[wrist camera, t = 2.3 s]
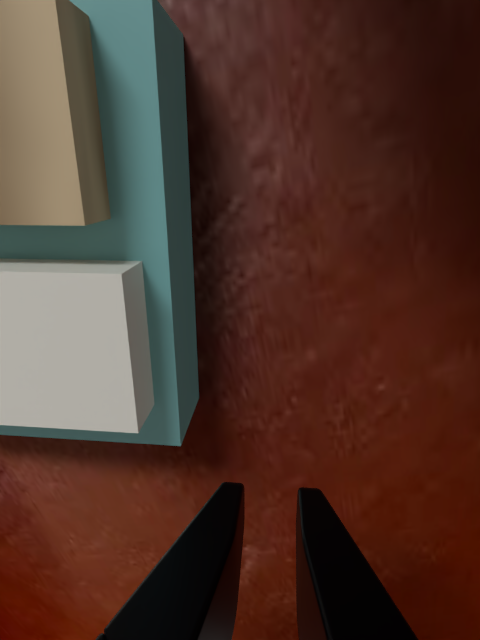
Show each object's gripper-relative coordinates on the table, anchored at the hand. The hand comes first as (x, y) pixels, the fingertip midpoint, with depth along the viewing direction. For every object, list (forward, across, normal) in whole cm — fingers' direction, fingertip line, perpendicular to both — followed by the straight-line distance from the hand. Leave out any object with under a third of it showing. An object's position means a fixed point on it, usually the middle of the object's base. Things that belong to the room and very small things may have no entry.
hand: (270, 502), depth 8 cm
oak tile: (+8, +9, -8) cm, 14 cm away
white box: (+8, +10, 0) cm, 12 cm away
